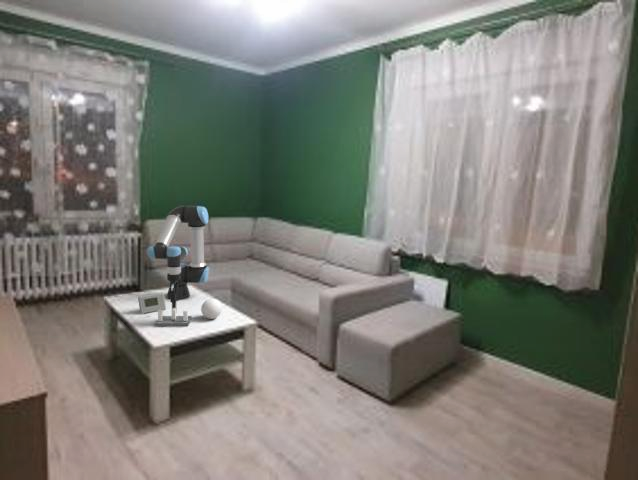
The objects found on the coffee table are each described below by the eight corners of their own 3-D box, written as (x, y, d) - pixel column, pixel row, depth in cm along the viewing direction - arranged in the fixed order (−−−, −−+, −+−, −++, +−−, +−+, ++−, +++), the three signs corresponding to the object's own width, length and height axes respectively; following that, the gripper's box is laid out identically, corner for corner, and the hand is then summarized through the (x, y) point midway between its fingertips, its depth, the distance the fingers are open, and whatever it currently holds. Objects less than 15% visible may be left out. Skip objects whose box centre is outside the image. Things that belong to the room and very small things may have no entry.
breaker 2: (184, 319, 242) (184, 309, 241) (187, 319, 242) (187, 309, 241) (183, 321, 240) (183, 311, 239) (186, 321, 240) (186, 311, 239)
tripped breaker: (172, 318, 244) (172, 308, 243) (176, 318, 244) (175, 308, 243) (171, 319, 241) (171, 309, 240) (175, 319, 242) (175, 309, 241)
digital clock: (139, 315, 253) (139, 298, 251) (137, 310, 260) (136, 294, 259) (167, 311, 262) (167, 295, 260) (164, 307, 269) (164, 291, 267)
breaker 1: (159, 319, 240) (158, 309, 239) (162, 319, 240) (162, 309, 240) (157, 321, 238) (157, 311, 237) (161, 321, 238) (161, 311, 237)
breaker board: (160, 319, 248) (160, 315, 247) (191, 319, 250) (191, 315, 250) (155, 326, 236) (155, 323, 236) (188, 326, 238) (188, 323, 238)
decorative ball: (225, 317, 256) (225, 298, 254) (212, 323, 245) (212, 303, 243) (210, 313, 261) (210, 295, 259) (197, 319, 250) (197, 300, 248)
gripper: (169, 270, 246) (170, 308, 250) (164, 276, 233) (165, 316, 237) (182, 270, 247) (183, 308, 251) (178, 276, 234) (178, 316, 238)
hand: (174, 312), depth 244 cm, fingers closed
